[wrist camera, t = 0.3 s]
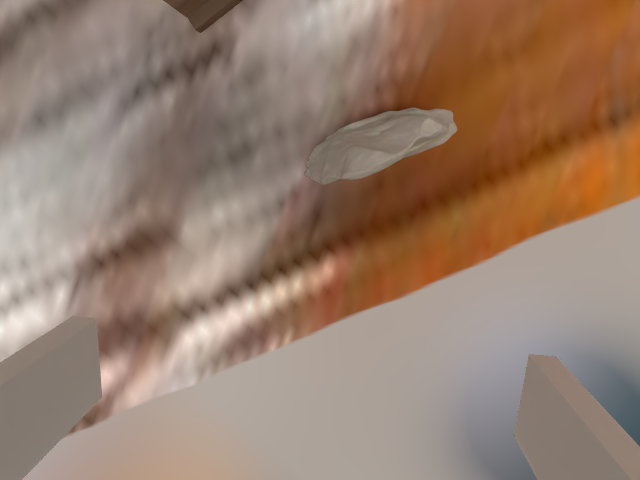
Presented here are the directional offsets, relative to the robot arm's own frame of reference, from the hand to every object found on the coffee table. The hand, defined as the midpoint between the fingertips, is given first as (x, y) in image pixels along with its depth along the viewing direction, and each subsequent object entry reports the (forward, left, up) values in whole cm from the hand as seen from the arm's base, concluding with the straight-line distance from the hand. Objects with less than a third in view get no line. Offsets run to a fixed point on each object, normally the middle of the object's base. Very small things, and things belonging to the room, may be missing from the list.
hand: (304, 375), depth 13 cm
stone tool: (-4, +6, -26) cm, 27 cm away
